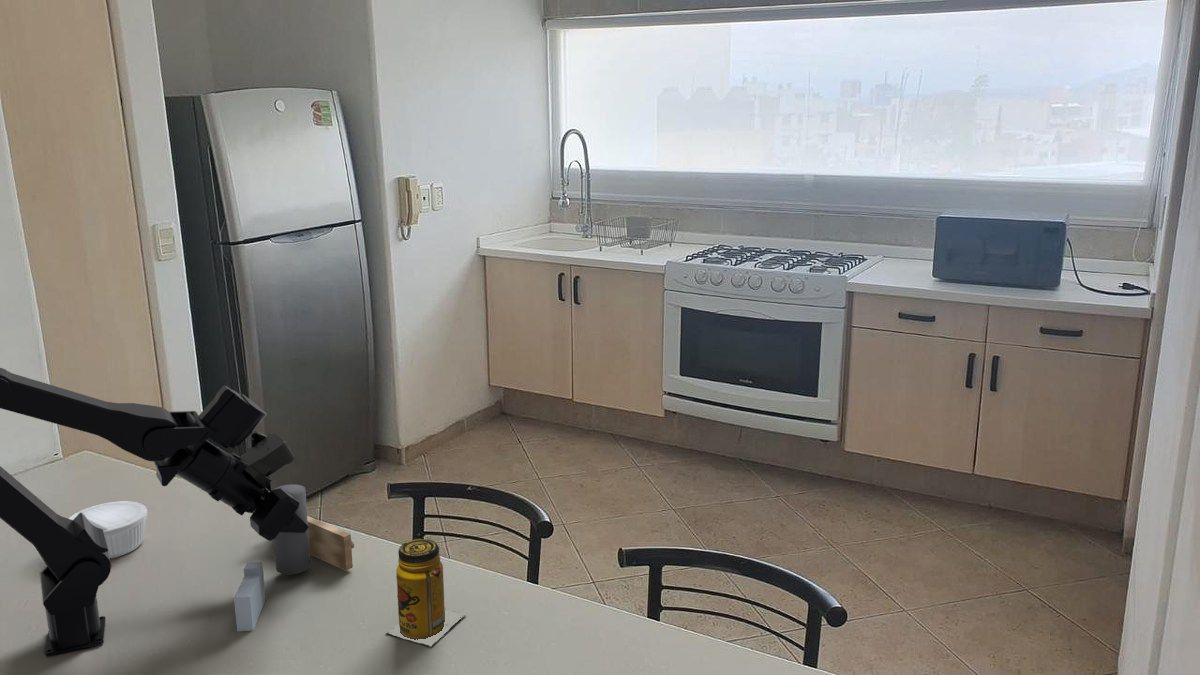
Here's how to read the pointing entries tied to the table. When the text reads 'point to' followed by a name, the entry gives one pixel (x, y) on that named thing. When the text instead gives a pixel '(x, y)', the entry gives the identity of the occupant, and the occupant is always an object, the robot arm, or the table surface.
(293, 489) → the gray cylinder
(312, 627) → the table surface
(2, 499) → the robot arm
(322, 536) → the door
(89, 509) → the ramekin
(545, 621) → the table surface
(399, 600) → the condiment
